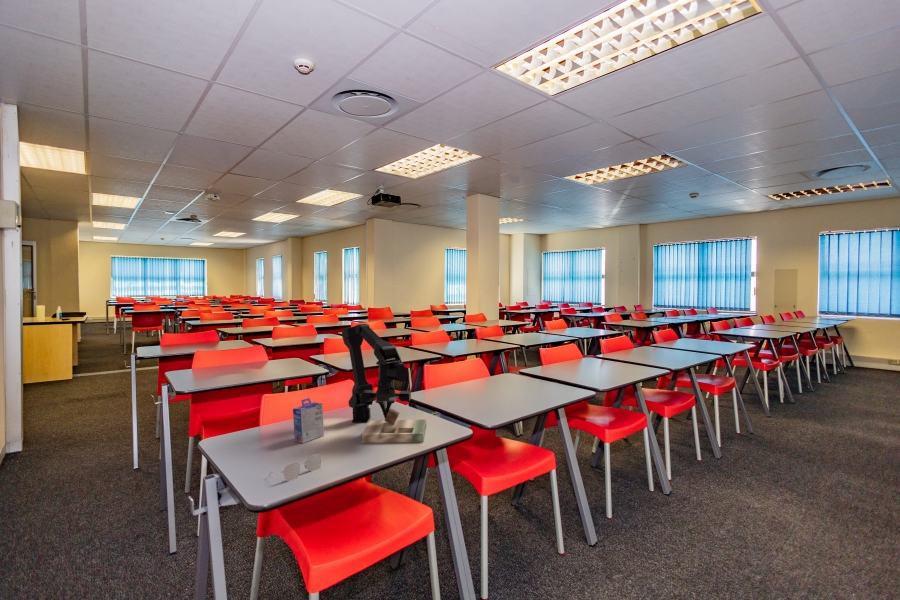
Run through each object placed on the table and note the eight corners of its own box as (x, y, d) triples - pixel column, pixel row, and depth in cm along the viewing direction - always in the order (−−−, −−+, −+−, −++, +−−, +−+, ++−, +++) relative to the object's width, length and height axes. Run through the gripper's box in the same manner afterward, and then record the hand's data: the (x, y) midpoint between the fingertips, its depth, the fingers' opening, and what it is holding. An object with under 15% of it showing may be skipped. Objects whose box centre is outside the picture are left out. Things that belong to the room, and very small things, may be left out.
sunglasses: (283, 485, 121) (281, 467, 121) (267, 482, 126) (265, 465, 126) (324, 467, 132) (321, 451, 132) (307, 466, 137) (305, 450, 137)
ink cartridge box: (315, 432, 163) (314, 395, 163) (324, 435, 160) (323, 397, 159) (293, 440, 155) (291, 401, 154) (302, 443, 152) (301, 403, 151)
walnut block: (384, 420, 161) (388, 411, 161) (386, 417, 165) (390, 408, 165) (393, 425, 161) (398, 416, 161) (395, 421, 165) (399, 412, 165)
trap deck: (362, 443, 151) (361, 434, 151) (370, 428, 167) (370, 420, 167) (423, 441, 151) (423, 433, 151) (426, 426, 167) (426, 419, 167)
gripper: (357, 381, 155) (356, 423, 155) (407, 382, 154) (407, 425, 154) (364, 375, 166) (363, 415, 166) (411, 376, 165) (410, 416, 165)
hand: (385, 417), depth 163 cm, fingers closed, pressing on walnut block
